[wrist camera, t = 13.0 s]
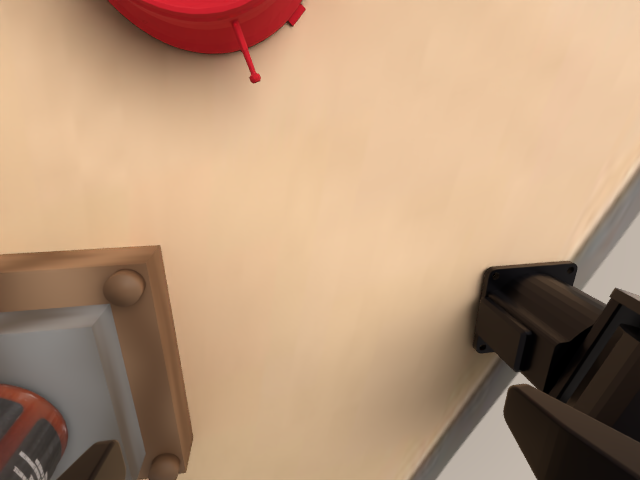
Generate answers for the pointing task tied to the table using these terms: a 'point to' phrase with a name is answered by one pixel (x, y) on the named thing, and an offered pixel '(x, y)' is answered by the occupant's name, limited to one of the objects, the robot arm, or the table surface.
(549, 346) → the robot arm
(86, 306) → the tower base
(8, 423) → the supplement bottle
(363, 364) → the table surface
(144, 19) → the alarm clock
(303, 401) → the table surface
